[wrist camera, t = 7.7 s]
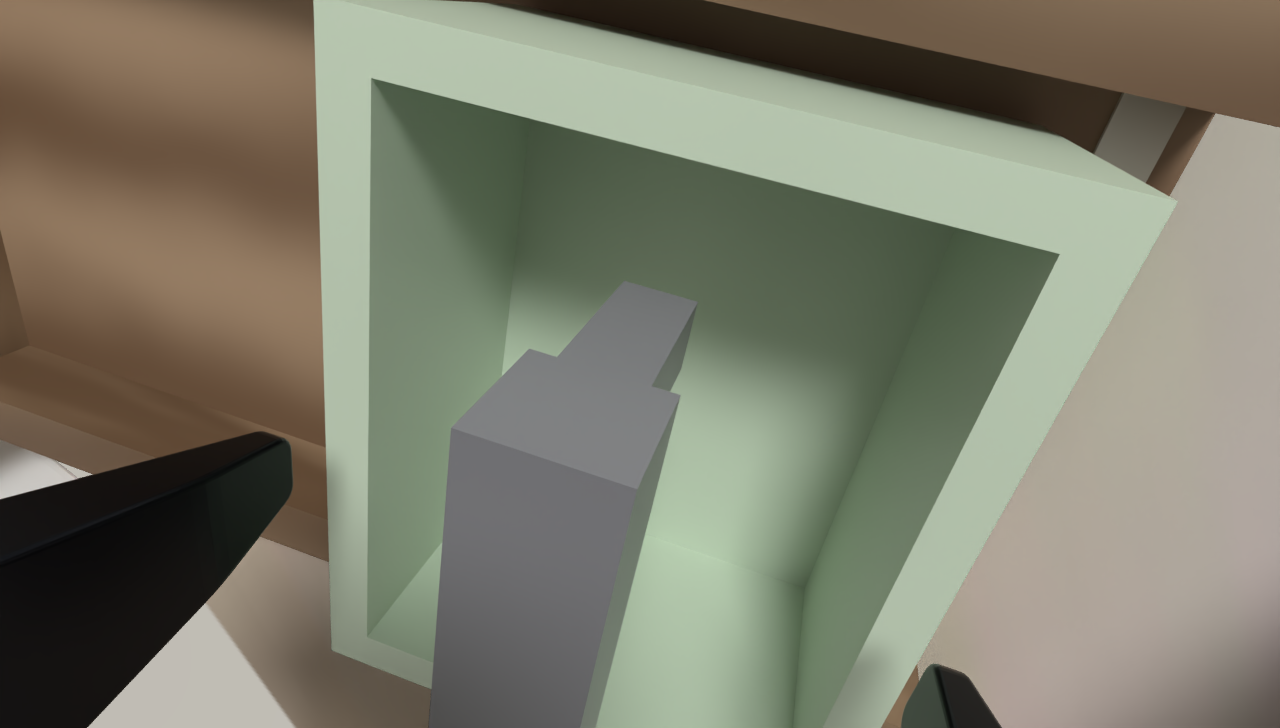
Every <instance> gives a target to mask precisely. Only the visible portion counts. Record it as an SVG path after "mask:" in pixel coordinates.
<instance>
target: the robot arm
mask: <svg viewBox="0 0 1280 728" xmlns="http://www.w3.org/2000/svg"><path fill="white" fill-rule="evenodd" d="M292 489H293V467H292V449H291V445H290V443H289V441H288V440H286V439H285V438H283V437H280V436H277V435H274V434H271V433H268V432H264V431H257V432H253V433H249V434H245V435H242V436H238V437H234V438H230V439H226V440H223V441H219V442H215V443H211V444H207V445H204V446H200V447H196V448H192V449H188V450H185V451H181V452H177V453H173V454H169V455H166V456H162V457H158V458H154V459H151V460H147V461H143V462H139V463H135V464H132V465H128V466H124V467H120V468H116V469H113V470H109V471H105V472H101V473H97V474H94V475H90V476H86V477H82V478H78V479H75V480H71V481H67V482H63V483H59V484H56V485H52V486H48V487H44V488H40V489H37V490H33V491H29V492H25V493H22V494H18V495H14V496H10V497H6V498H3V499H0V728H87V727H88V726H89V725H90V724H91V723H92V722H93V721H94V720H95V719H96V718H97V717H98V716H99V714H101V712H102V711H103V710H104V709H105V708H106V707H107V706H108V705H109V704H110V703H111V702H112V701H113V700H114V699H115V698H116V697H117V695H118V694H119V693H120V692H121V691H122V690H123V689H124V688H125V687H126V686H127V685H128V684H129V683H130V682H131V681H132V680H133V679H134V678H135V677H136V675H137V674H138V673H139V672H140V671H141V670H142V669H143V668H144V667H145V666H146V665H147V664H148V663H149V662H150V661H151V660H152V659H153V658H154V657H155V655H156V654H157V653H158V652H159V651H160V650H161V649H162V648H163V647H164V646H165V645H166V644H167V643H168V642H169V641H170V640H171V639H172V638H173V636H174V635H175V634H176V633H177V632H178V631H179V630H180V629H181V628H182V627H183V626H184V625H185V624H186V623H187V622H188V621H189V620H190V619H191V617H192V616H193V615H194V614H195V613H196V612H197V611H198V610H199V609H200V608H201V607H202V606H203V605H204V604H205V603H206V602H207V600H208V599H209V598H210V597H211V596H212V595H213V594H214V593H215V592H216V591H217V589H218V588H219V587H220V586H221V585H222V584H223V582H224V581H225V580H226V579H227V578H228V576H229V575H230V574H231V573H232V571H233V570H234V569H235V568H236V566H237V565H238V564H239V562H240V561H241V560H242V559H243V557H244V556H245V555H246V553H247V552H248V551H249V550H250V548H251V547H252V546H253V544H254V543H255V542H256V541H257V539H258V538H259V537H260V535H261V534H262V533H263V532H264V530H265V529H266V528H267V526H268V525H269V524H270V523H271V521H272V520H273V519H274V517H275V516H276V515H277V514H278V512H279V511H280V510H281V508H282V507H283V506H284V505H285V503H286V502H287V500H288V499H289V497H290V495H291V492H292ZM901 728H1002V727H1001V726H1000V724H999V723H998V721H997V720H996V718H995V716H994V715H993V713H992V712H991V710H990V709H989V707H988V706H987V704H986V703H985V701H984V700H983V698H982V697H981V695H980V694H979V692H978V691H977V689H976V688H975V686H974V684H973V683H972V681H971V680H970V679H969V678H968V677H967V676H966V675H965V674H964V673H962V672H959V671H957V670H954V669H951V668H948V667H945V666H942V665H939V664H931V665H930V666H928V667H927V669H926V670H925V672H924V673H923V675H922V677H921V679H920V680H919V682H918V684H917V686H916V687H915V689H914V691H913V692H912V694H911V696H910V698H909V699H908V701H907V703H906V705H905V708H904V711H903V715H902V721H901Z"/></svg>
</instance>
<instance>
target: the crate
mask: <svg viewBox="0 0 1280 728" xmlns="http://www.w3.org/2000/svg"><path fill="white" fill-rule="evenodd" d="M313 3H314V39H315V75H316V111H317V147H318V183H319V219H320V254H321V290H322V326H323V362H324V398H325V434H326V470H327V506H328V542H329V578H330V614H331V649H332V651H334V652H337V653H339V654H342V655H344V656H347V657H349V658H352V659H355V660H357V661H360V662H362V663H365V664H367V665H370V666H372V667H375V668H377V669H380V670H383V671H385V672H388V673H390V674H393V675H395V676H398V677H400V678H403V679H406V680H408V681H411V682H413V683H416V684H418V685H421V686H423V687H426V688H428V689H431V701H430V714H429V728H881V727H882V725H883V723H884V721H885V719H886V718H887V716H888V714H889V712H890V711H891V709H892V707H893V705H894V704H895V702H896V700H897V698H898V696H899V695H900V693H901V691H902V689H903V688H904V686H905V684H906V682H907V681H908V679H909V677H910V675H911V673H912V672H913V670H914V668H915V666H916V665H917V663H918V661H919V659H920V658H921V656H922V654H923V652H924V650H925V649H926V647H927V645H928V643H929V642H930V640H931V638H932V636H933V635H934V633H935V631H936V629H937V627H938V626H939V624H940V622H941V620H942V619H943V617H944V615H945V613H946V612H947V610H948V608H949V606H950V604H951V603H952V601H953V599H954V597H955V596H956V594H957V592H958V590H959V589H960V587H961V585H962V583H963V581H964V580H965V578H966V576H967V574H968V573H969V571H970V569H971V567H972V565H973V564H974V562H975V560H976V558H977V557H978V555H979V553H980V551H981V550H982V548H983V546H984V544H985V542H986V541H987V539H988V537H989V535H990V534H991V532H992V530H993V528H994V527H995V525H996V523H997V521H998V519H999V518H1000V516H1001V514H1002V512H1003V511H1004V509H1005V507H1006V505H1007V504H1008V502H1009V500H1010V498H1011V496H1012V495H1013V493H1014V491H1015V489H1016V488H1017V486H1018V484H1019V482H1020V481H1021V479H1022V477H1023V475H1024V473H1025V472H1026V470H1027V468H1028V466H1029V465H1030V463H1031V461H1032V459H1033V458H1034V456H1035V454H1036V452H1037V450H1038V449H1039V447H1040V445H1041V443H1042V442H1043V440H1044V438H1045V436H1046V435H1047V433H1048V431H1049V429H1050V427H1051V426H1052V424H1053V422H1054V420H1055V419H1056V417H1057V415H1058V413H1059V412H1060V410H1061V408H1062V406H1063V404H1064V403H1065V401H1066V399H1067V397H1068V396H1069V394H1070V392H1071V390H1072V389H1073V387H1074V385H1075V383H1076V381H1077V380H1078V378H1079V376H1080V374H1081V373H1082V371H1083V369H1084V367H1085V366H1086V364H1087V362H1088V360H1089V358H1090V357H1091V355H1092V353H1093V351H1094V350H1095V348H1096V346H1097V344H1098V343H1099V341H1100V339H1101V337H1102V335H1103V334H1104V332H1105V330H1106V328H1107V327H1108V325H1109V323H1110V321H1111V320H1112V318H1113V316H1114V314H1115V312H1116V311H1117V309H1118V307H1119V305H1120V304H1121V302H1122V300H1123V298H1124V297H1125V295H1126V293H1127V291H1128V289H1129V288H1130V286H1131V284H1132V282H1133V281H1134V279H1135V277H1136V275H1137V274H1138V272H1139V270H1140V268H1141V266H1142V265H1143V263H1144V261H1145V259H1146V258H1147V256H1148V254H1149V252H1150V250H1151V249H1152V247H1153V245H1154V243H1155V242H1156V240H1157V238H1158V236H1159V235H1160V233H1161V231H1162V229H1163V227H1164V226H1165V224H1166V222H1167V220H1168V219H1169V217H1170V215H1171V213H1172V212H1173V210H1174V208H1175V206H1176V204H1177V203H1178V201H1177V200H1175V199H1173V198H1171V197H1169V196H1168V195H1166V194H1164V193H1162V192H1160V191H1159V190H1157V189H1155V188H1153V187H1151V186H1150V185H1148V184H1146V183H1144V182H1142V181H1141V180H1139V179H1137V178H1135V177H1133V176H1132V175H1130V174H1128V173H1126V172H1124V171H1123V170H1121V169H1119V168H1117V167H1115V166H1114V165H1112V164H1110V163H1108V162H1106V161H1105V160H1103V159H1101V158H1099V157H1097V156H1096V155H1094V154H1092V153H1090V152H1088V151H1087V150H1085V149H1083V148H1081V147H1079V146H1078V145H1076V144H1074V143H1072V142H1071V141H1069V140H1067V139H1065V138H1063V137H1062V136H1060V135H1058V134H1056V133H1054V132H1053V131H1051V130H1049V129H1047V128H1045V127H1044V126H1042V125H1037V124H1033V123H1029V122H1024V121H1020V120H1016V119H1011V118H1007V117H1003V116H998V115H994V114H990V113H985V112H981V111H977V110H972V109H968V108H964V107H959V106H955V105H951V104H946V103H942V102H938V101H933V100H929V99H925V98H920V97H916V96H912V95H907V94H903V93H899V92H894V91H890V90H886V89H881V88H877V87H873V86H868V85H864V84H860V83H855V82H851V81H847V80H842V79H838V78H834V77H829V76H825V75H821V74H816V73H812V72H808V71H803V70H799V69H795V68H790V67H786V66H782V65H777V64H773V63H769V62H764V61H760V60H756V59H751V58H747V57H743V56H738V55H734V54H730V53H725V52H721V51H717V50H712V49H708V48H704V47H699V46H695V45H691V44H686V43H682V42H678V41H673V40H669V39H665V38H660V37H656V36H652V35H647V34H643V33H639V32H635V31H630V30H626V29H622V28H617V27H613V26H609V25H604V24H600V23H596V22H591V21H587V20H583V19H578V18H574V17H570V16H565V15H561V14H557V13H552V12H548V11H544V10H539V9H535V8H531V7H526V6H522V5H518V4H502V3H482V2H462V1H441V0H313Z"/></svg>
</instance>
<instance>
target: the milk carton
mask: <svg viewBox="0 0 1280 728" xmlns="http://www.w3.org/2000/svg"><path fill="white" fill-rule="evenodd" d="M75 479H78V478H77V477H76V476H74V475H73V474H72V473H71V472H69V471H68V470H67V469H65V468H64V467H63V466H62V465H61V464H59V463H58V462H57V461H56V460H53V459H50V458H48V457H45V456H42V455H40V454H37V453H34V452H32V451H29V450H26V449H24V448H21V447H18V446H15V445H13V444H10V443H7V442H5V441H2V440H0V499H3V498H6V497H10V496H14V495H18V494H22V493H25V492H29V491H33V490H37V489H40V488H44V487H48V486H52V485H56V484H59V483H63V482H67V481H71V480H75Z"/></svg>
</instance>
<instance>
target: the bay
mask: <svg viewBox="0 0 1280 728" xmlns="http://www.w3.org/2000/svg"><path fill="white" fill-rule="evenodd" d="M441 1H462V2H482V3H502V4H518V5H522V6H526V7H531V8H535V9H539V10H544V11H548V12H552V13H557V14H561V15H565V16H570V17H574V18H578V19H583V20H587V21H591V22H596V23H600V24H604V25H609V26H613V27H617V28H622V29H626V30H630V31H635V32H639V33H643V34H647V35H652V36H656V37H660V38H665V39H669V40H673V41H678V42H682V43H686V44H691V45H695V46H699V47H704V48H708V49H712V50H717V51H721V52H725V53H730V54H734V55H738V56H743V57H747V58H751V59H756V60H760V61H764V62H769V63H773V64H777V65H782V66H786V67H790V68H795V69H799V70H803V71H808V72H812V73H816V74H821V75H825V76H829V77H834V78H838V79H842V80H847V81H851V82H855V83H860V84H864V85H868V86H873V87H877V88H881V89H886V90H890V91H894V92H899V93H903V94H907V95H912V96H916V97H920V98H925V99H929V100H933V101H938V102H942V103H946V104H951V105H955V106H959V107H964V108H968V109H972V110H977V111H981V112H985V113H990V114H994V115H998V116H1003V117H1007V118H1011V119H1016V120H1020V121H1024V122H1029V123H1033V124H1037V125H1042V126H1044V127H1045V128H1047V129H1049V130H1051V131H1053V132H1054V133H1056V134H1058V135H1060V136H1062V137H1063V138H1065V139H1067V140H1069V141H1071V142H1072V143H1074V144H1076V145H1078V146H1079V147H1081V148H1083V149H1085V150H1087V151H1088V152H1090V153H1092V154H1094V155H1096V156H1097V157H1099V158H1101V159H1103V160H1105V161H1106V162H1108V163H1110V164H1112V165H1114V166H1115V167H1117V168H1119V169H1121V170H1123V171H1124V172H1126V173H1128V174H1130V175H1132V176H1133V177H1135V178H1137V179H1139V180H1141V181H1142V182H1144V183H1146V184H1148V185H1150V186H1151V187H1153V188H1155V189H1157V190H1159V191H1160V192H1162V193H1164V194H1166V195H1168V196H1170V194H1171V192H1172V190H1173V189H1174V187H1175V185H1176V183H1177V181H1178V180H1179V178H1180V176H1181V174H1182V172H1183V171H1184V169H1185V167H1186V165H1187V163H1188V162H1189V160H1190V158H1191V156H1192V154H1193V153H1194V151H1195V149H1196V147H1197V145H1198V144H1199V142H1200V140H1201V138H1202V136H1203V135H1204V133H1205V131H1206V129H1207V128H1208V126H1209V124H1210V122H1211V120H1212V119H1213V117H1214V115H1215V113H1217V114H1222V115H1226V116H1231V117H1236V118H1240V119H1245V120H1249V121H1254V122H1258V123H1263V124H1267V125H1272V126H1276V127H1280V0H441ZM257 431H264V432H268V433H271V434H274V435H277V436H280V437H283V438H285V439H286V440H288V441H289V443H290V445H291V449H292V467H293V489H292V492H291V495H290V497H289V499H288V500H287V502H286V503H285V505H284V506H283V507H282V508H281V510H280V511H279V512H278V514H277V515H276V516H275V517H274V519H273V520H272V521H271V523H270V524H269V525H268V526H267V528H266V529H265V530H264V532H263V533H262V534H261V535H260V537H263V538H266V539H268V540H271V541H274V542H277V543H279V544H282V545H285V546H287V547H290V548H293V549H295V550H298V551H301V552H303V553H306V554H309V555H312V556H314V557H317V558H320V559H322V560H325V561H328V562H329V542H328V506H327V470H326V434H325V398H324V362H323V326H322V290H321V254H320V219H319V183H318V147H317V111H316V75H315V39H314V3H313V0H0V440H2V441H5V442H7V443H10V444H13V445H15V446H18V447H21V448H24V449H26V450H29V451H32V452H34V453H37V454H40V455H42V456H45V457H48V458H50V459H53V460H56V461H59V462H62V463H64V464H67V465H69V466H72V467H75V468H77V469H80V470H83V471H85V472H88V473H91V474H97V473H101V472H105V471H109V470H113V469H116V468H120V467H124V466H128V465H132V464H135V463H139V462H143V461H147V460H151V459H154V458H158V457H162V456H166V455H169V454H173V453H177V452H181V451H185V450H188V449H192V448H196V447H200V446H204V445H207V444H211V443H215V442H219V441H223V440H226V439H230V438H234V437H238V436H242V435H245V434H249V433H253V432H257ZM918 682H919V678H918V668H917V665H916V666H915V668H914V670H913V672H912V673H911V675H910V677H909V679H908V681H907V682H906V684H905V686H904V688H903V689H902V691H901V693H900V695H899V696H898V698H897V700H896V702H895V704H894V705H893V707H892V709H891V711H890V712H889V714H888V716H887V718H886V719H885V721H884V723H883V725H882V727H881V728H901V721H902V715H903V711H904V708H905V705H906V703H907V701H908V699H909V698H910V696H911V694H912V692H913V691H914V689H915V687H916V686H917V684H918Z"/></svg>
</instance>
